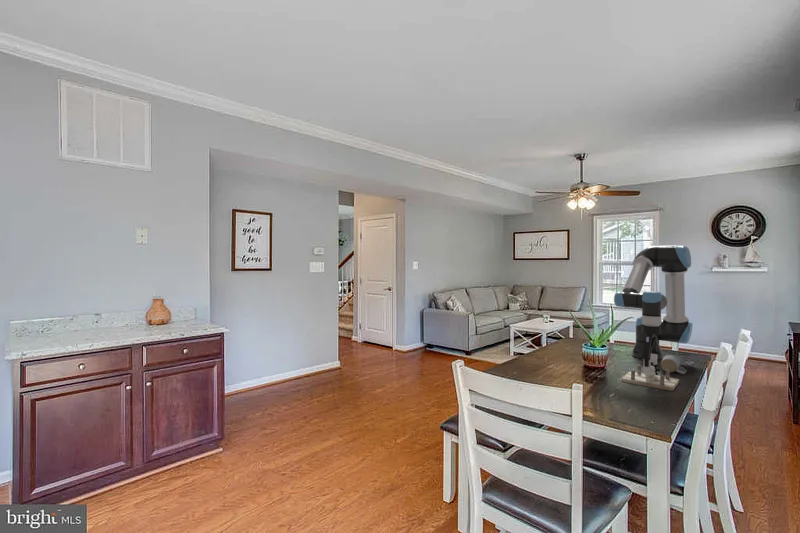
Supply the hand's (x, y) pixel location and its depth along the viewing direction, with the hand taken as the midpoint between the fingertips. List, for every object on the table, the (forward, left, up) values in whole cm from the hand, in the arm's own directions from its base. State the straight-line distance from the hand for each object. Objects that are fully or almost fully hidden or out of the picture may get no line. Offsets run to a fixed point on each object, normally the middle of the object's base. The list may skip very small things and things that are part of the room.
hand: (650, 370), depth 190 cm
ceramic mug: (-27, +5, -6) cm, 28 cm away
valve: (0, 0, -4) cm, 4 cm away
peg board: (0, 0, -5) cm, 5 cm away
